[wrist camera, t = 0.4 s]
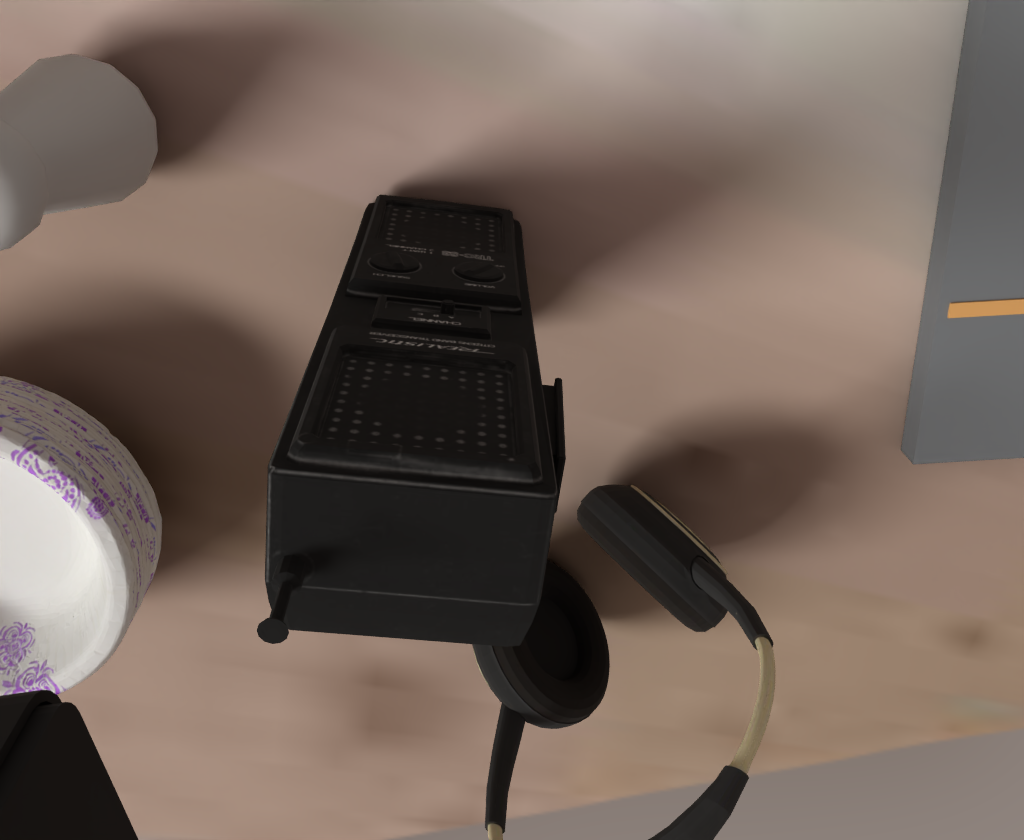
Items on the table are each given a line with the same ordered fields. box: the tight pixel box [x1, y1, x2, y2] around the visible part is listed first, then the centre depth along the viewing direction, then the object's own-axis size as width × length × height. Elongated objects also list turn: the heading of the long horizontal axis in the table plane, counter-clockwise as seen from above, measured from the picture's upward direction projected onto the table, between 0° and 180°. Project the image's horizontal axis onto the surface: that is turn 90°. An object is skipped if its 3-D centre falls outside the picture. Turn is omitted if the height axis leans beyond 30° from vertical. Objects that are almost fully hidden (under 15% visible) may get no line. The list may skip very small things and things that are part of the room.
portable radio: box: [257, 195, 566, 647], centre depth 32 cm, size 8×6×25 cm
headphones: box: [473, 485, 775, 840], centre depth 41 cm, size 9×15×20 cm, turn 133°
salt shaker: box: [0, 54, 158, 250], centre depth 34 cm, size 6×6×13 cm
